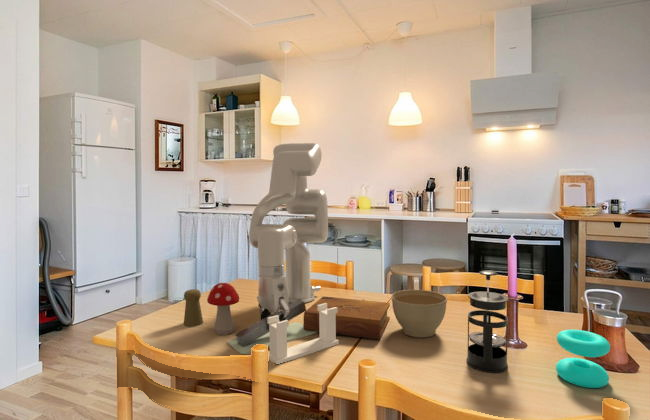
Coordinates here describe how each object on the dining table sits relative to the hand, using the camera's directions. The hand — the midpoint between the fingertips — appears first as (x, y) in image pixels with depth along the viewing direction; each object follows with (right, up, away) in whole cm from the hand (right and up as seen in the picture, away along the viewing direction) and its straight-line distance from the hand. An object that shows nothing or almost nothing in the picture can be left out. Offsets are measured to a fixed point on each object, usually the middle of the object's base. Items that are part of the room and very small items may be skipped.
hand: (273, 329), depth 113 cm
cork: (-28, -2, +13) cm, 31 cm away
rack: (+10, -3, -9) cm, 13 cm away
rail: (0, +1, 0) cm, 1 cm away
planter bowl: (+43, -2, +3) cm, 43 cm away
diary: (+22, -1, +9) cm, 24 cm away
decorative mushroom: (-16, -2, +6) cm, 17 cm away
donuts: (+73, -4, -25) cm, 77 cm away
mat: (0, -2, 0) cm, 2 cm away
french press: (+55, -3, -18) cm, 58 cm away
